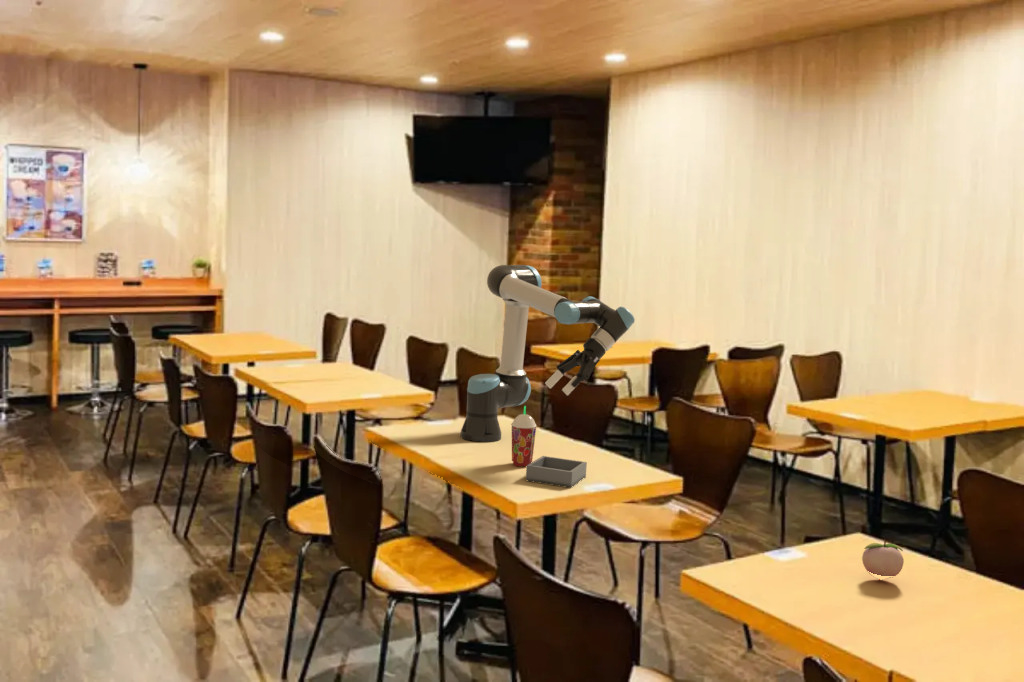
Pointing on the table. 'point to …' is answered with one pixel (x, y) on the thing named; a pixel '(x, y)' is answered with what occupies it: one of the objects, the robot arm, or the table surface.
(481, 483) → the table surface
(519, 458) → the smoothie
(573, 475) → the holder tray
